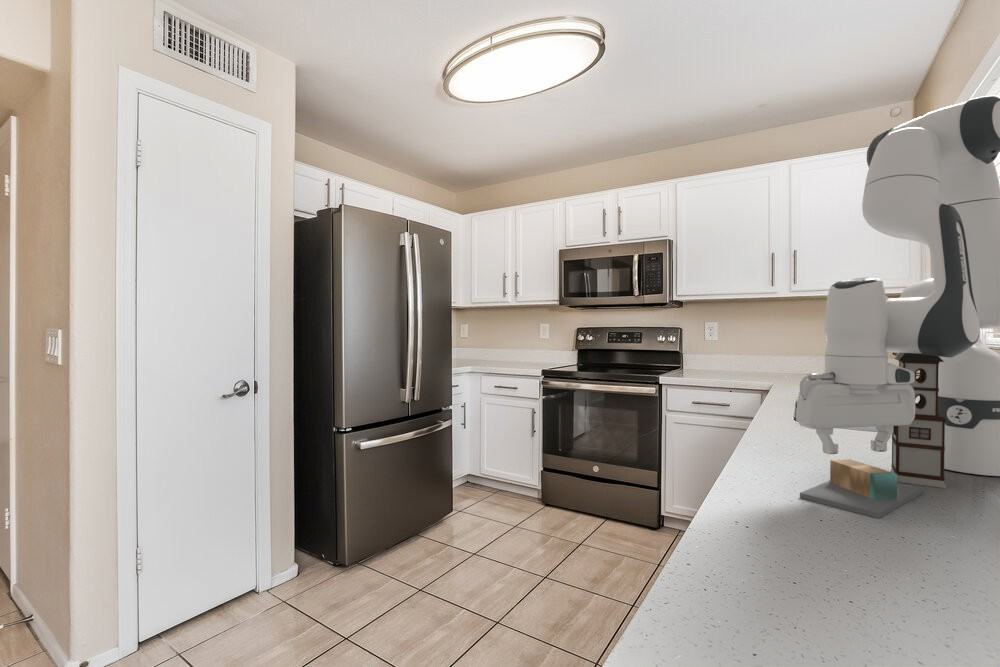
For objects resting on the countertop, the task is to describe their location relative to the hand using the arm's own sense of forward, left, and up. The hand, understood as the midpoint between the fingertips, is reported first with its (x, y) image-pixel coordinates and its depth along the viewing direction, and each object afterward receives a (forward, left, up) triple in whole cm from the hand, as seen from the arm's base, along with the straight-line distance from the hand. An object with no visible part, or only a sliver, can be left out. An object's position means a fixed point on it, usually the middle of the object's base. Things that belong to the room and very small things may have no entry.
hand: (854, 452), depth 86 cm
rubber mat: (+1, +1, -7) cm, 7 cm away
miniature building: (-17, +4, -7) cm, 19 cm away
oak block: (-1, -3, -4) cm, 5 cm away
